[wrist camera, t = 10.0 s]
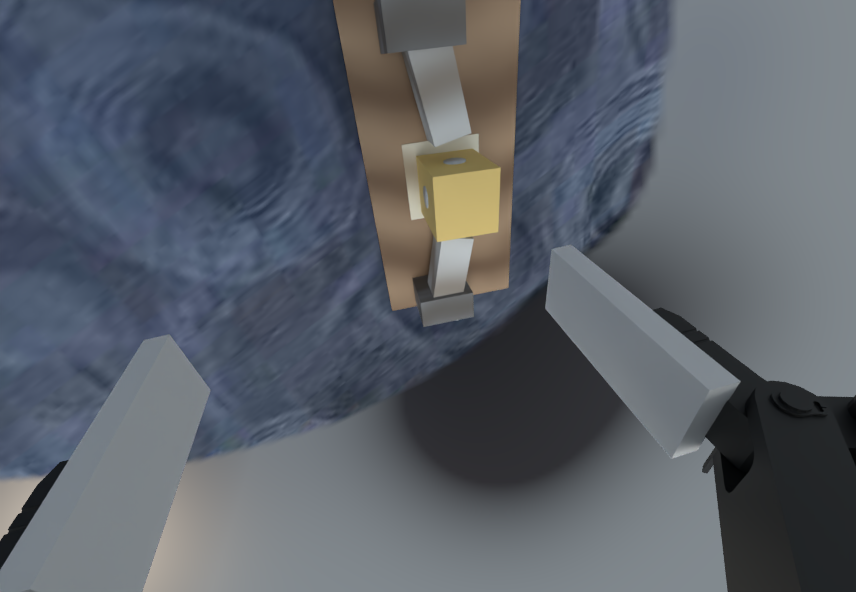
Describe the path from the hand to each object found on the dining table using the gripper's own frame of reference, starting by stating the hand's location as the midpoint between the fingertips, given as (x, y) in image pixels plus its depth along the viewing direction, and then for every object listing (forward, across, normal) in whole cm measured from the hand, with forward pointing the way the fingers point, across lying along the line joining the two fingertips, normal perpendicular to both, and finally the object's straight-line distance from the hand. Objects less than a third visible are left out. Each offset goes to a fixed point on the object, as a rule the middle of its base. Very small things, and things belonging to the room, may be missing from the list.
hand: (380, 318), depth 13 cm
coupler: (+18, +7, -2) cm, 19 cm away
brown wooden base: (+19, +7, -2) cm, 21 cm away
